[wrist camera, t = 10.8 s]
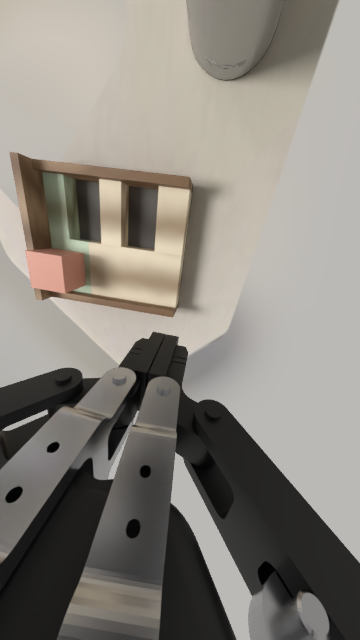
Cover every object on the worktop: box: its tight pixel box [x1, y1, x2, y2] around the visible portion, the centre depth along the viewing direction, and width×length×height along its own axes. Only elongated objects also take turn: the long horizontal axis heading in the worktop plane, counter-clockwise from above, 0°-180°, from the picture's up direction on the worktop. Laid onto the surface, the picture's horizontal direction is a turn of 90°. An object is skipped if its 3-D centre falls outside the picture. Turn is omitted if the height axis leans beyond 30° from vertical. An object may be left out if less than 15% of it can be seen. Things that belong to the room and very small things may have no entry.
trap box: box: [10, 152, 193, 317], centre depth 29 cm, size 18×21×6 cm
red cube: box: [25, 248, 86, 293], centre depth 29 cm, size 5×5×5 cm
